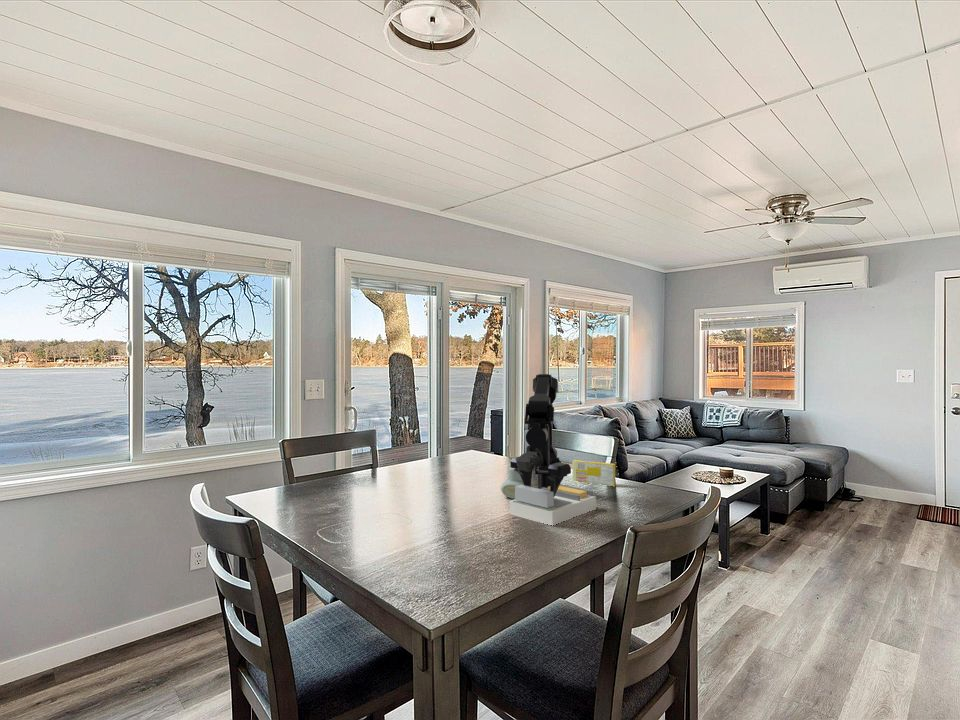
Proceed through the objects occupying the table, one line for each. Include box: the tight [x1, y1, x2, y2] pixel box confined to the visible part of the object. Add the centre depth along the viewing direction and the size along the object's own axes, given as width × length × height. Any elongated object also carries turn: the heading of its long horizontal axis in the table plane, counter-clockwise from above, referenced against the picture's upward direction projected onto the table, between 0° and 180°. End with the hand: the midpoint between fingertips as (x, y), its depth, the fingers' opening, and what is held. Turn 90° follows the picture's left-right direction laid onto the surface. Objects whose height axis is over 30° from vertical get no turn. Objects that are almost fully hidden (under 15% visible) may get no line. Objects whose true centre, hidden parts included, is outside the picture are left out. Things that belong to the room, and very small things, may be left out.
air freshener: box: [500, 466, 534, 500], centre depth 172 cm, size 11×8×10 cm
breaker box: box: [509, 483, 597, 527], centre depth 155 cm, size 16×22×6 cm
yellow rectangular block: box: [548, 486, 587, 498], centre depth 160 cm, size 12×4×2 cm, turn 45°
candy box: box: [571, 459, 616, 488], centre depth 189 cm, size 16×2×8 cm, turn 58°
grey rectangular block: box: [515, 485, 554, 508], centre depth 149 cm, size 12×3×4 cm, turn 45°
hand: (540, 494), depth 151 cm, fingers open, 9 cm apart
